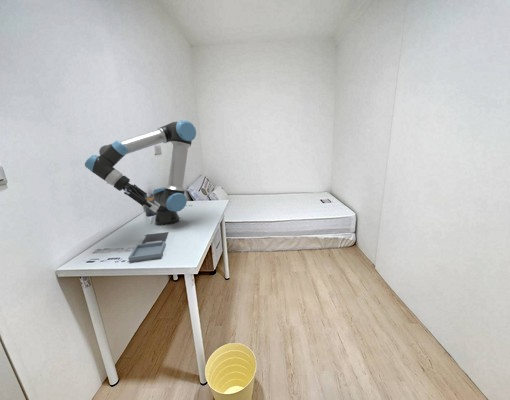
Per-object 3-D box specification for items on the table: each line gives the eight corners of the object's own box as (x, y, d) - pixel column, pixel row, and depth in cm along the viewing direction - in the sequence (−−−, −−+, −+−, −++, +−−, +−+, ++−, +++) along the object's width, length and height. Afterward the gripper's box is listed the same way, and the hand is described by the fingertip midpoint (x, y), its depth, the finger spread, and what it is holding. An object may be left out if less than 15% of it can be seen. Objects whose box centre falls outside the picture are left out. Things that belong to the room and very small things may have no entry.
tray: (137, 249, 117) (136, 244, 116) (165, 245, 120) (165, 241, 119) (129, 262, 104) (128, 257, 104) (161, 258, 107) (160, 253, 106)
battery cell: (147, 214, 126) (143, 193, 123) (157, 213, 127) (154, 192, 124) (145, 217, 121) (141, 195, 118) (155, 216, 122) (151, 194, 119)
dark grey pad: (147, 235, 134) (146, 234, 133) (169, 232, 136) (168, 231, 136) (140, 246, 120) (140, 244, 120) (165, 243, 123) (165, 241, 122)
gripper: (119, 182, 125) (156, 209, 133) (106, 189, 108) (149, 219, 116) (128, 172, 125) (165, 199, 132) (116, 177, 108) (159, 208, 115)
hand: (157, 208), depth 124 cm, fingers closed on battery cell, 5 cm apart
